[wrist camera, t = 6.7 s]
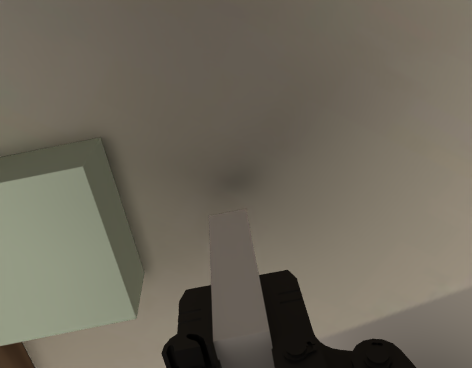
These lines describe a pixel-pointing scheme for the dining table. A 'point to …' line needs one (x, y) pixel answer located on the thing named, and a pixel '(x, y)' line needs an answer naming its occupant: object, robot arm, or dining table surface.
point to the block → (64, 244)
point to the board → (14, 356)
